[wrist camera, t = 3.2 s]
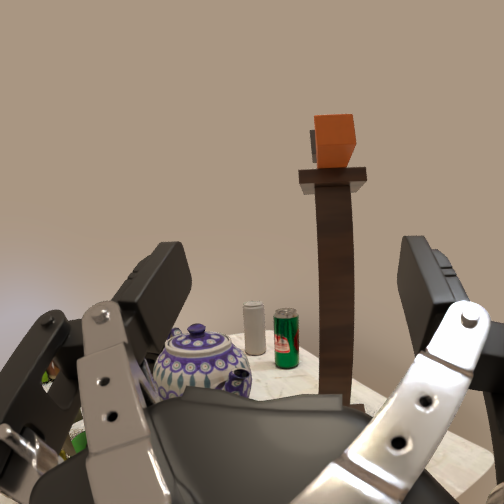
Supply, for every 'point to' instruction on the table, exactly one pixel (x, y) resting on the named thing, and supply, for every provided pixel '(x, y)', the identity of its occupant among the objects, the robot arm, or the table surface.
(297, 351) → the soda can
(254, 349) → the beverage can
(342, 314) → the walnut stand
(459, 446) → the table surface
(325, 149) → the hammer with orange handle
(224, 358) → the teapot
